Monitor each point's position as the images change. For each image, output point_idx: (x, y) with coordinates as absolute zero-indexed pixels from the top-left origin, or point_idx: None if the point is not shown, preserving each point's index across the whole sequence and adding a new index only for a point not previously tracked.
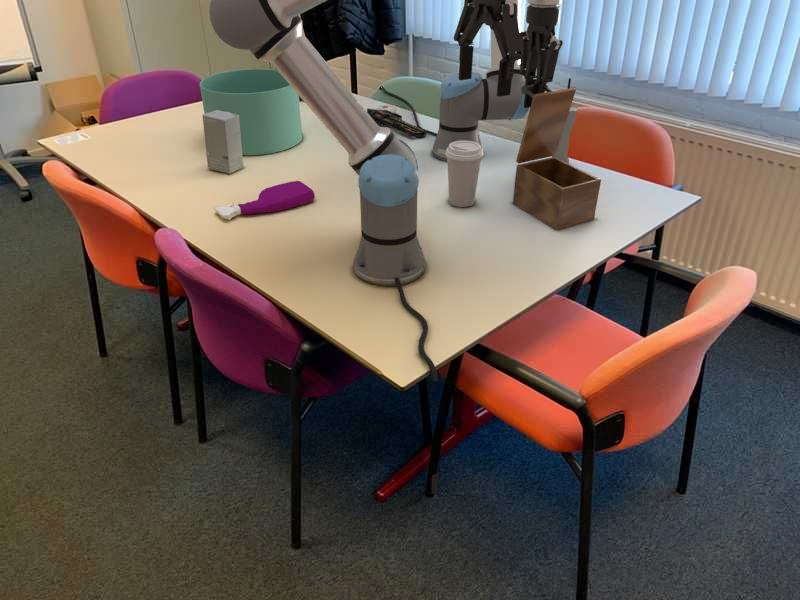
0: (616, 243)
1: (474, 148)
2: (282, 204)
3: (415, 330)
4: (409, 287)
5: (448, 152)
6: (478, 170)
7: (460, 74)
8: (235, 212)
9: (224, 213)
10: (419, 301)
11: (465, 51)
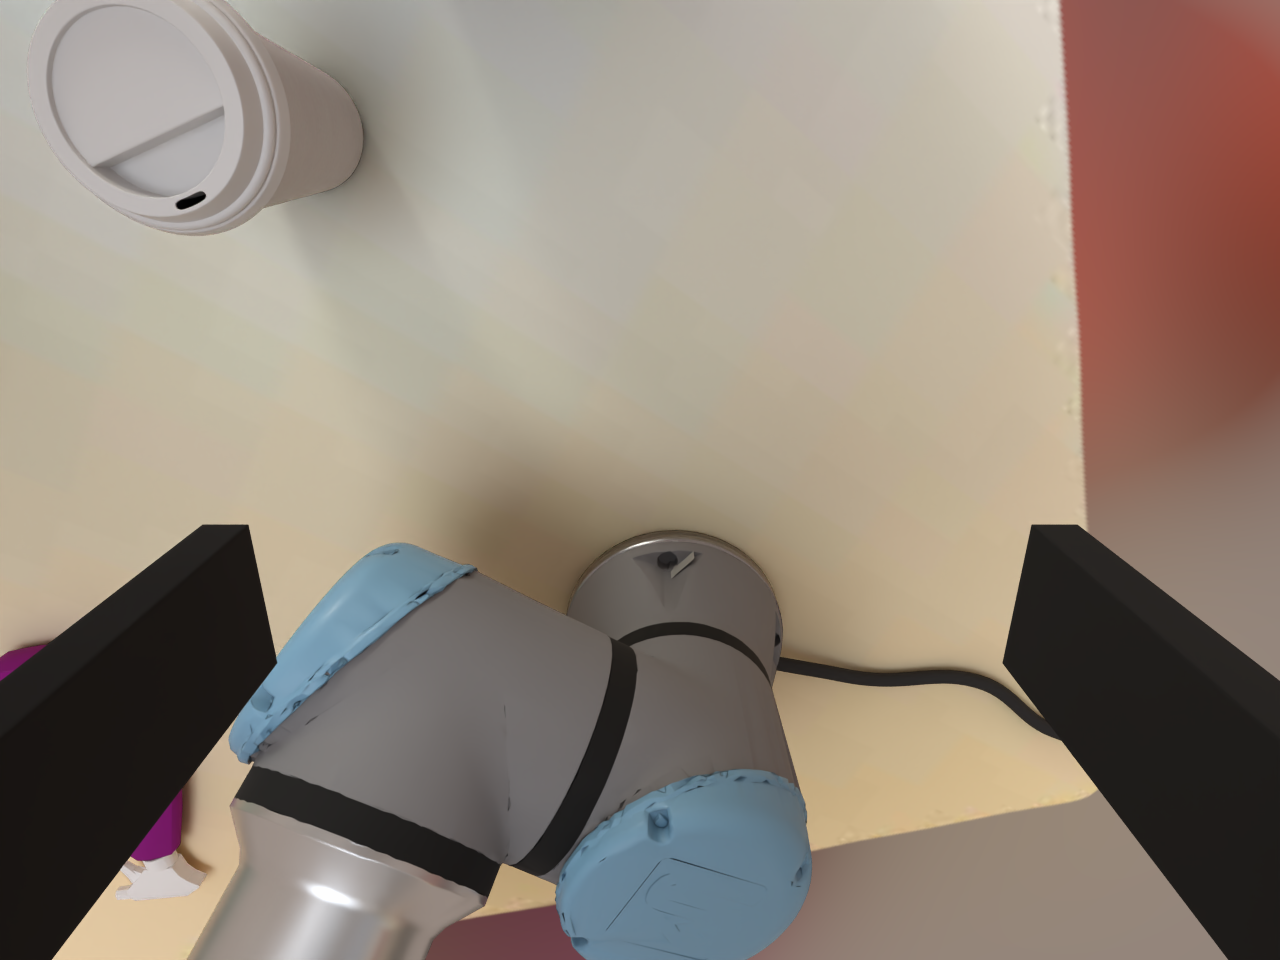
0: None
1: (185, 59)
2: None
3: (970, 697)
4: (794, 624)
5: (167, 227)
6: (282, 58)
7: (236, 706)
8: (176, 865)
9: (182, 892)
10: (870, 634)
11: (15, 931)
